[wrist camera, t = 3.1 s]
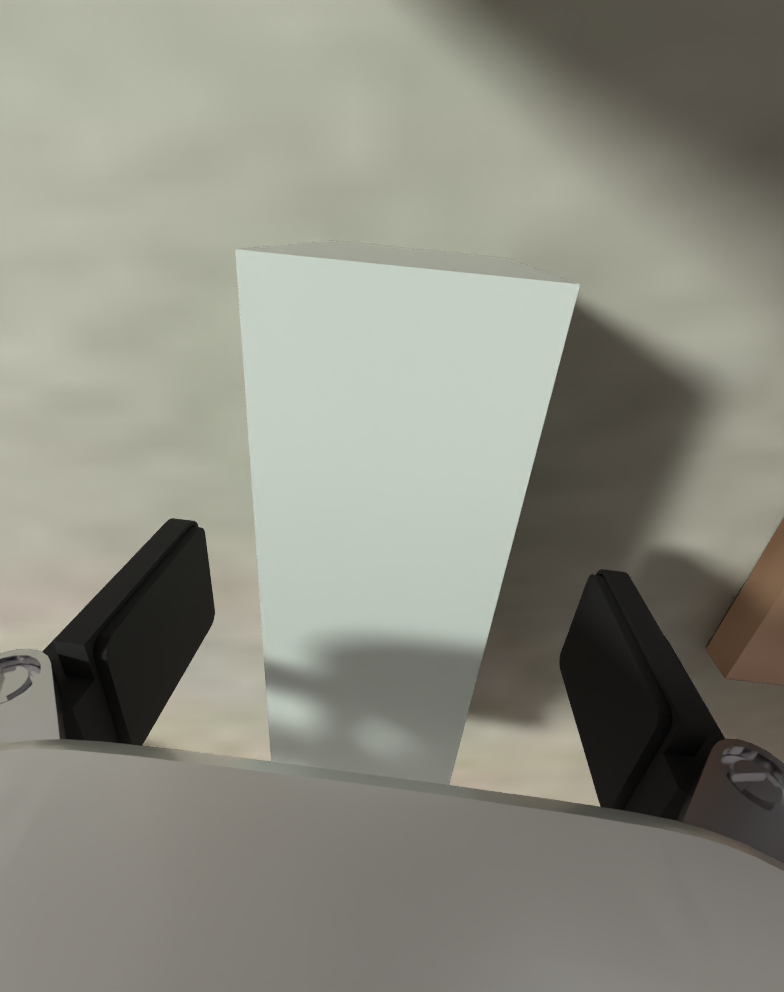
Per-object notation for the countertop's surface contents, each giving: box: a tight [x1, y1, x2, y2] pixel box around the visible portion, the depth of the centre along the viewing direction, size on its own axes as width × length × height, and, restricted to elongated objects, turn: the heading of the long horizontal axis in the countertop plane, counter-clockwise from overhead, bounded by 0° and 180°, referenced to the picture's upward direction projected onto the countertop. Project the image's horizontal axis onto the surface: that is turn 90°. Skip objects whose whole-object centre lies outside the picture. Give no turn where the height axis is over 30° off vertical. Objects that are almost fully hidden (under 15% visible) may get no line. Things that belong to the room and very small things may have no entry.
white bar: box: [235, 240, 580, 785], centre depth 11 cm, size 14×4×6 cm, turn 175°
